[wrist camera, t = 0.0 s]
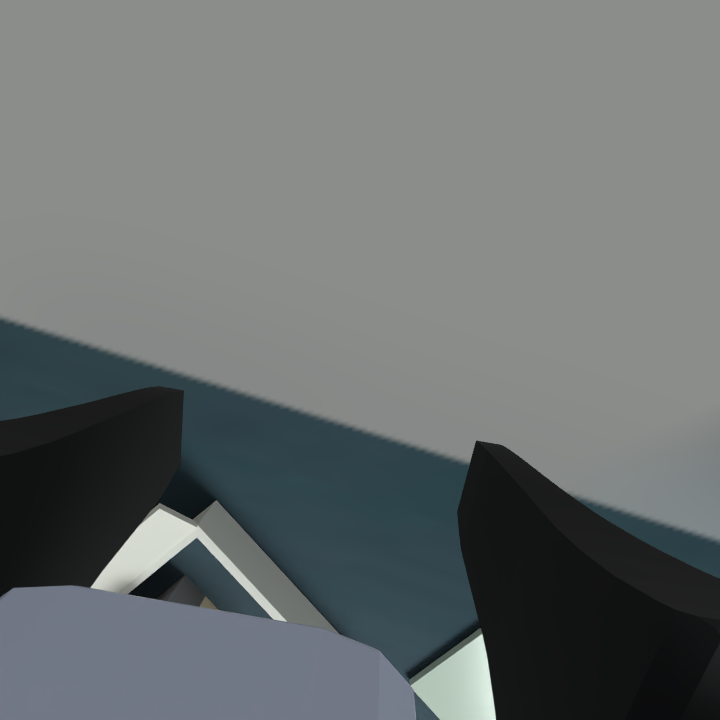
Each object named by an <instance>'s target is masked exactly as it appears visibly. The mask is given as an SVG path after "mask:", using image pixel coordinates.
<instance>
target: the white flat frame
mask: <svg viewBox="0 0 720 720" xmlns="http://www.w3.org/2000/svg"><path fill="white" fill-rule="evenodd" d="M196 537H197V538H198V539H199V540H200V541H201V542H202V543H203V544H204V545H205V546H206V547H207V549H208V550H209V551H210V552H211V553H212V554H213V555H214V556H215V557H216V558H217V559H218V560H219V561H220V562H221V564H222V565H223V566H224V567H225V568H226V569H227V570H228V571H229V572H230V573H231V574H232V575H233V576H234V578H235V579H236V580H237V581H238V582H239V583H240V584H241V585H242V586H243V587H244V588H245V589H246V590H247V591H248V593H249V594H250V595H251V596H252V597H253V598H254V599H255V600H256V601H257V602H258V603H259V604H260V605H261V606H262V608H263V609H264V610H265V611H266V612H267V613H268V614H269V615H270V616H271V617H272V618H273V619H274V620H279V621H285V622H291V623H297V624H302V625H308V626H314V627H320V628H325V629H327V630H330V631H332V632H335V633H337V634H339V633H338V632H337V631H336V630H335V629H334V628H333V627H332V625H331V624H330V623H329V622H328V621H327V620H326V619H325V618H324V617H323V616H322V615H321V613H320V612H319V611H318V610H317V609H316V608H315V607H314V606H313V605H312V604H311V603H310V602H309V600H308V599H307V598H306V597H305V596H304V595H303V594H302V593H301V592H300V591H299V590H298V588H297V587H296V586H295V585H294V584H293V583H292V582H291V581H290V580H289V579H288V578H287V576H286V575H285V574H284V573H283V572H282V571H281V570H280V569H279V568H278V567H277V566H276V564H275V563H274V562H273V561H272V560H271V559H270V558H269V557H268V556H267V555H266V554H265V553H264V551H263V550H262V549H261V548H260V547H259V546H258V545H257V544H256V543H255V542H254V541H253V539H252V538H251V537H250V536H249V535H248V534H247V533H246V532H245V531H244V530H243V529H242V527H241V526H240V525H239V524H238V523H237V522H236V521H235V520H234V519H233V518H232V517H231V515H230V514H229V513H228V512H227V511H226V510H225V509H224V508H223V507H222V506H221V505H220V504H219V502H218V501H217V500H216V501H215V502H213V503H212V504H211V505H210V506H208V507H207V508H206V509H205V510H204V511H202V512H201V513H200V514H199V515H198V516H196V517H195V518H194V519H193V520H192V519H190V518H188V517H186V516H184V515H182V514H180V513H178V512H176V511H174V510H172V509H170V508H168V507H166V506H164V505H162V504H160V503H159V504H158V505H157V506H156V507H155V508H154V509H152V510H151V511H150V512H149V514H148V515H147V516H146V517H145V519H144V520H143V521H142V523H141V524H140V525H139V526H138V528H137V529H136V530H135V531H134V533H133V534H132V535H131V536H130V538H129V539H128V540H127V541H126V543H125V544H124V545H123V546H122V548H121V549H120V550H119V551H118V552H117V554H116V555H115V556H114V557H113V559H112V560H111V561H110V562H109V564H108V565H107V566H106V567H105V569H104V570H103V571H102V573H101V574H100V575H99V577H98V578H97V579H96V581H95V582H94V584H93V585H92V586H91V588H93V589H99V590H105V591H111V592H117V593H122V594H128V593H130V592H131V591H132V590H133V589H134V588H136V587H137V586H138V585H139V584H140V583H142V582H143V581H144V580H145V579H147V578H148V577H149V576H150V575H151V574H153V573H154V572H155V571H156V570H158V569H159V568H160V567H161V566H162V565H164V564H165V563H166V562H167V561H168V560H170V559H171V558H172V557H173V556H175V555H176V554H177V553H178V552H179V551H181V550H182V549H183V548H184V547H185V546H187V545H188V544H189V543H190V542H192V541H193V540H194V539H195V538H196Z"/></svg>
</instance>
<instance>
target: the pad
mask: <svg viewBox="0 0 720 720" xmlns="http://www.w3.org/2000/svg"><path fill="white" fill-rule="evenodd" d="M409 683H410V686H411V687H412V688H413V690H414V691H415V692H416V694H417V695H418V696H419V697H420V698H421V699H422V700H423V701H424V702H425V703H426V705H427V706H428V707H429V708H430V709H431V710H432V711H433V712H434V713H435V714H436V716H437V717H438V718H439V719H440V720H496V716H495V708H494V700H493V694H492V687H491V680H490V673H489V666H488V659H487V654H486V649H485V644H484V639H483V635H482V631H481V628H480V629H478V630H477V631H475V632H474V633H473V634H471V635H470V636H469V637H467V638H466V639H464V640H463V641H462V642H460V643H459V644H458V645H456V646H455V647H453V648H452V649H451V650H449V651H448V652H447V653H445V654H444V655H442V656H441V657H440V658H438V659H437V660H436V661H434V662H433V663H431V664H430V665H429V666H427V667H426V668H425V669H423V670H422V671H420V672H419V673H418V674H416V675H415V676H414V677H412V678H411V679H409Z"/></svg>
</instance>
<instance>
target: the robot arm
mask: <svg viewBox="0 0 720 720" xmlns="http://www.w3.org/2000/svg"><path fill="white" fill-rule="evenodd" d="M183 397H184V391H183V390H177V389H171V388H165V387H150V388H144V389H140V390H135V391H131V392H127V393H123V394H119V395H116V396H112V397H108V398H104V399H100V400H96V401H93V402H89V403H85V404H81V405H77V406H72V407H68V408H64V409H59V410H55V411H51V412H46V413H42V414H38V415H33V416H28V417H22V418H17V419H11V420H5V421H0V720H416V713H415V702H414V691H413V688H412V687H411V686H410V685H409V684H408V683H407V682H406V680H405V679H404V678H403V677H402V676H401V675H400V674H399V672H398V671H397V670H396V669H395V668H394V667H393V666H392V665H391V663H390V662H389V661H388V660H387V659H386V658H385V657H384V655H383V654H382V653H381V652H380V651H379V650H377V649H375V648H373V647H370V646H368V645H365V644H363V643H360V642H358V641H355V640H353V639H350V638H348V637H345V636H342V635H340V634H337V633H335V632H332V631H330V630H327V629H325V628H320V627H314V626H308V625H302V624H297V623H291V622H285V621H279V620H273V619H268V618H262V617H256V616H250V615H244V614H239V613H233V612H227V611H221V610H215V609H209V608H204V607H198V606H192V605H186V604H180V603H175V602H169V601H163V600H157V599H151V598H146V597H140V596H134V595H128V594H122V593H117V592H111V591H105V590H99V589H93V588H91V586H92V585H93V584H94V582H95V581H96V579H97V578H98V577H99V575H100V574H101V573H102V571H103V570H104V569H105V567H106V566H107V565H108V564H109V562H110V561H111V560H112V559H113V557H114V556H115V555H116V554H117V552H118V551H119V550H120V549H121V548H122V546H123V545H124V544H125V543H126V541H127V540H128V539H129V538H130V536H131V535H132V534H133V533H134V531H135V530H136V529H137V528H138V526H139V525H140V524H141V523H142V521H143V520H144V519H145V517H146V516H147V515H148V514H149V512H150V511H151V510H152V509H153V507H154V506H155V505H156V503H157V502H158V501H159V500H160V498H161V497H162V495H163V494H164V492H165V490H166V489H167V487H168V485H169V484H170V482H171V480H172V478H173V476H174V475H175V473H176V471H177V469H178V467H179V466H180V457H181V437H182V417H183ZM457 514H458V526H459V536H460V544H461V551H462V555H463V559H464V563H465V567H466V572H467V576H468V580H469V584H470V587H471V591H472V595H473V599H474V603H475V607H476V611H477V615H478V619H479V623H480V627H481V631H482V635H483V639H484V644H485V649H486V654H487V659H488V666H489V673H490V680H491V687H492V694H493V700H494V708H495V716H496V720H720V579H719V578H716V577H714V576H712V575H710V574H708V573H705V572H703V571H701V570H699V569H696V568H694V567H692V566H690V565H688V564H686V563H684V562H682V561H680V560H678V559H676V558H674V557H672V556H670V555H668V554H666V553H664V552H662V551H660V550H658V549H656V548H654V547H652V546H650V545H649V544H647V543H645V542H643V541H641V540H639V539H638V538H636V537H634V536H633V535H631V534H629V533H627V532H626V531H624V530H622V529H621V528H619V527H617V526H616V525H614V524H612V523H610V522H609V521H607V520H606V519H604V518H602V517H601V516H599V515H598V514H596V513H595V512H593V511H592V510H590V509H589V508H587V507H586V506H585V505H583V504H582V503H580V502H579V501H577V500H576V499H574V498H573V497H572V496H570V495H569V494H567V493H566V492H565V491H563V490H562V489H561V488H559V487H558V486H557V485H555V484H554V483H552V482H551V481H550V480H549V479H547V478H546V477H545V476H543V475H542V474H541V473H540V472H538V471H537V470H536V469H534V468H533V467H532V466H530V465H529V464H528V463H527V462H525V461H524V460H523V459H522V458H520V457H519V456H518V455H516V454H515V453H513V452H512V451H511V450H509V449H507V448H506V447H504V446H502V445H499V444H493V443H487V442H481V441H476V443H475V447H474V451H473V454H472V458H471V462H470V466H469V470H468V473H467V477H466V481H465V485H464V489H463V492H462V496H461V500H460V504H459V507H458V511H457Z"/></svg>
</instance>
